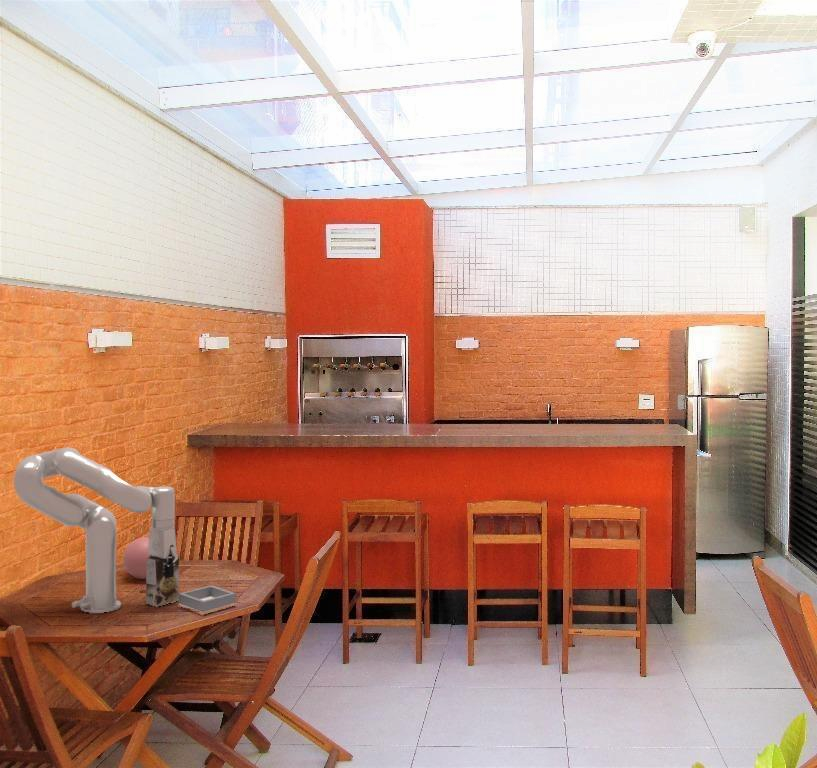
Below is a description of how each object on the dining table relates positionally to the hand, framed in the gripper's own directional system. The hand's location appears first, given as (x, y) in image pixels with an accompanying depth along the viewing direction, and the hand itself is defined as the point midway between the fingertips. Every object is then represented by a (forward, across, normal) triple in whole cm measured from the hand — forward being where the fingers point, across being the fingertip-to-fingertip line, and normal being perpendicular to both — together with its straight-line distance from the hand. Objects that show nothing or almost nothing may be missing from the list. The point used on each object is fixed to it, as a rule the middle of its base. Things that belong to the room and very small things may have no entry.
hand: (162, 574), depth 291 cm
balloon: (+10, -32, +13) cm, 36 cm away
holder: (+10, +14, +8) cm, 19 cm away
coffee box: (+10, 0, 0) cm, 10 cm away
